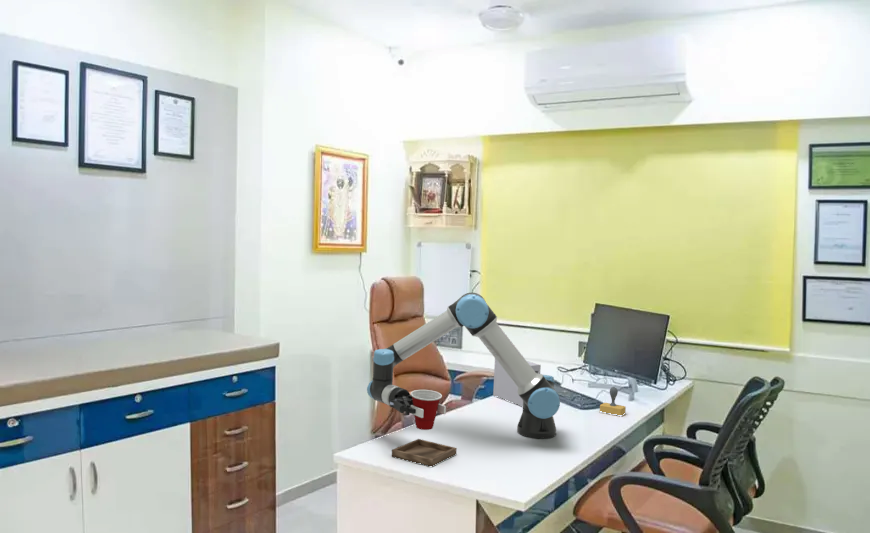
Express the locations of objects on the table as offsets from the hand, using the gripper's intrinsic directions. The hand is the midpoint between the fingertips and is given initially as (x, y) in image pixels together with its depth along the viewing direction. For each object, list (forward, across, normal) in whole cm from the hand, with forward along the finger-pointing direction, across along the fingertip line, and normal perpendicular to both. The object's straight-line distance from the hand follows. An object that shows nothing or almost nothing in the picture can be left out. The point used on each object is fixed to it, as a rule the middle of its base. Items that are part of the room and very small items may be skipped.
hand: (433, 411), depth 222 cm
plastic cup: (-5, 0, -7) cm, 8 cm away
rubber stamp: (-8, -107, -16) cm, 109 cm away
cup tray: (-4, 0, -16) cm, 17 cm away
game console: (-44, -82, -16) cm, 95 cm away
